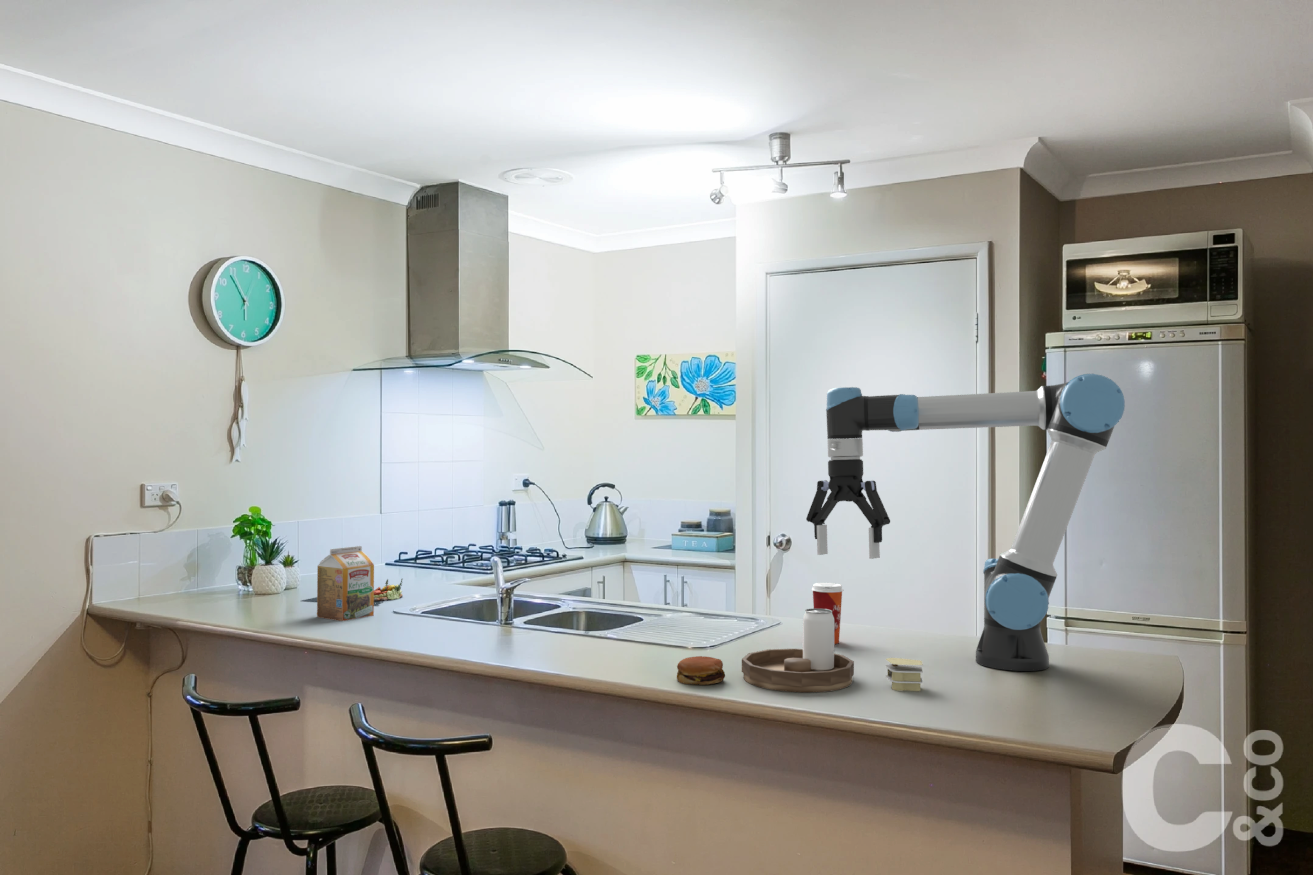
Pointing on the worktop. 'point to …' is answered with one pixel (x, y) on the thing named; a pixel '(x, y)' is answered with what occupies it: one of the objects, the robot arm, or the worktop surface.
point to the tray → (794, 671)
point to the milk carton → (345, 585)
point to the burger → (700, 670)
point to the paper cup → (829, 602)
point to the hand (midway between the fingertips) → (847, 556)
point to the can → (819, 639)
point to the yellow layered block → (904, 674)
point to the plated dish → (379, 594)
